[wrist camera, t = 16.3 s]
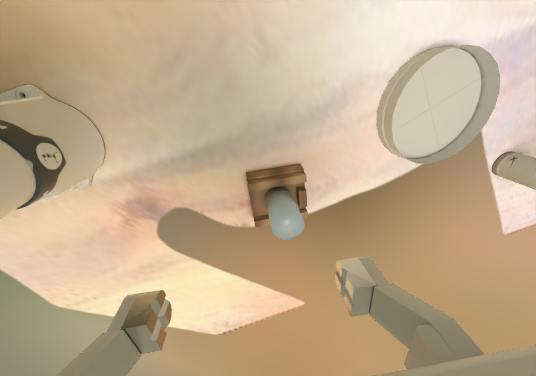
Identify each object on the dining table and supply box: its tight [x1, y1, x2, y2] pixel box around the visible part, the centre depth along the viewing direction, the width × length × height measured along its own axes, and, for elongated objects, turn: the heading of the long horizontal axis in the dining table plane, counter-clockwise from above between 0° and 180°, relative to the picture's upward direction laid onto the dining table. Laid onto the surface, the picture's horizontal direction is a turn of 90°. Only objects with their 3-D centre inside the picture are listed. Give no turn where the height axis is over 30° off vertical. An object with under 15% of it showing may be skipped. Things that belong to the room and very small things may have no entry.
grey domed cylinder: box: [265, 186, 304, 239], centre depth 44 cm, size 6×6×10 cm
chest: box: [246, 164, 308, 227], centre depth 49 cm, size 12×12×5 cm
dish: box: [377, 45, 500, 164], centre depth 45 cm, size 22×22×5 cm
